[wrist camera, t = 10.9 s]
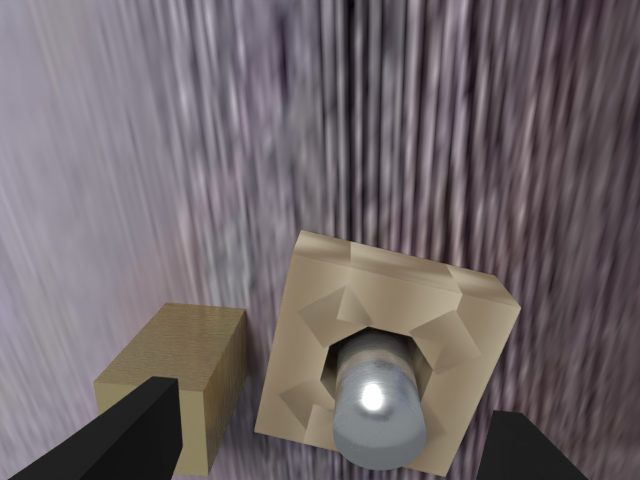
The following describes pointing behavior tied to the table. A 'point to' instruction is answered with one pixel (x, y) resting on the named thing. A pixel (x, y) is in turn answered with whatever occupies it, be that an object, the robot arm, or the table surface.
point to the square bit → (186, 373)
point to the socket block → (391, 315)
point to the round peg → (377, 401)
